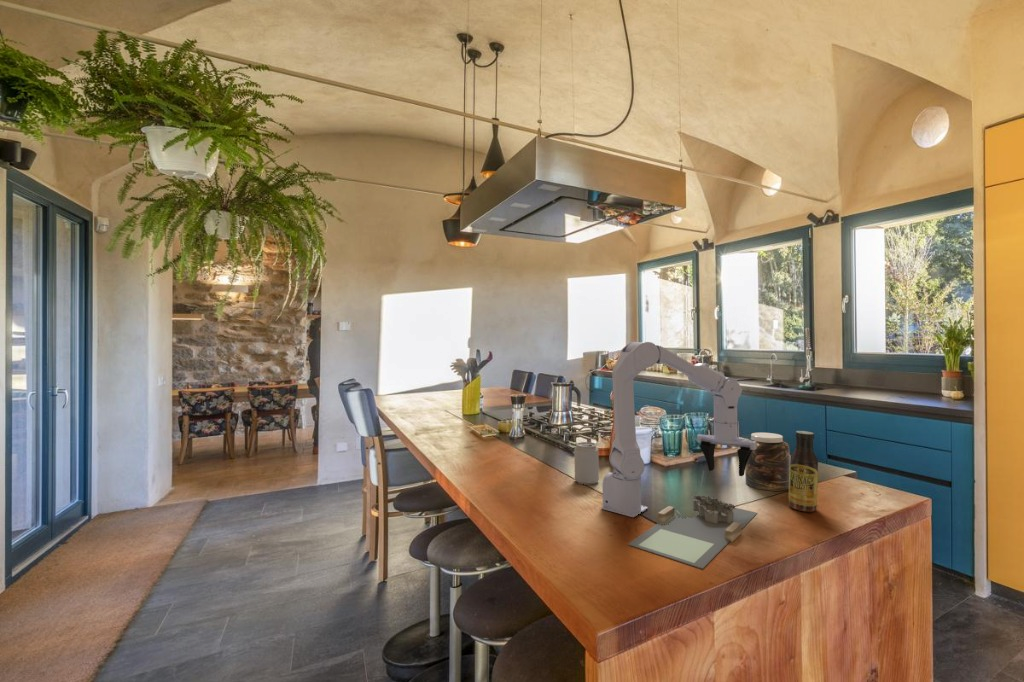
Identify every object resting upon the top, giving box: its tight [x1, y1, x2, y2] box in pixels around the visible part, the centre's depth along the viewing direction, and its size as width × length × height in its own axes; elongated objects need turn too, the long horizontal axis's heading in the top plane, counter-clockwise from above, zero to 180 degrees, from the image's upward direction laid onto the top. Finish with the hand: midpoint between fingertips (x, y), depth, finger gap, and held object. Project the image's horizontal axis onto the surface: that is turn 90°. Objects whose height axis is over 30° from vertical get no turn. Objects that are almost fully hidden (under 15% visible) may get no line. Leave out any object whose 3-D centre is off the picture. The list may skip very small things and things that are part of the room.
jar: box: [744, 432, 791, 492], centre depth 137 cm, size 12×12×15 cm
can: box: [573, 441, 600, 486], centre depth 143 cm, size 8×8×12 cm
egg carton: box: [690, 494, 736, 523], centre depth 114 cm, size 11×8×4 cm
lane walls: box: [657, 505, 742, 543], centre depth 107 cm, size 17×6×2 cm, turn 47°
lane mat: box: [627, 507, 758, 570], centre depth 107 cm, size 16×37×1 cm, turn 137°
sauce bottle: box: [788, 430, 819, 513], centre depth 118 cm, size 7×6×20 cm
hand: (726, 472), depth 122 cm, fingers open, 7 cm apart
